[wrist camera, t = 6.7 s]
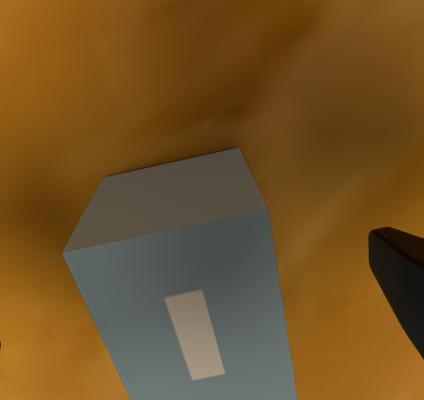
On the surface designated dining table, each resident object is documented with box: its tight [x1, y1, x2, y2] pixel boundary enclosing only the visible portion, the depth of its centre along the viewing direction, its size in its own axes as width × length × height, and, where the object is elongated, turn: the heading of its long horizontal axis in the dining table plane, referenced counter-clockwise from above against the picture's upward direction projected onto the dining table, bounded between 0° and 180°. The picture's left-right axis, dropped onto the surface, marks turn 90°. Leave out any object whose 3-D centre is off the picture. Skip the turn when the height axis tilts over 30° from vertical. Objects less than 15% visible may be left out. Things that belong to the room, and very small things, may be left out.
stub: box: [62, 148, 297, 400], centre depth 12 cm, size 8×5×5 cm, turn 12°
